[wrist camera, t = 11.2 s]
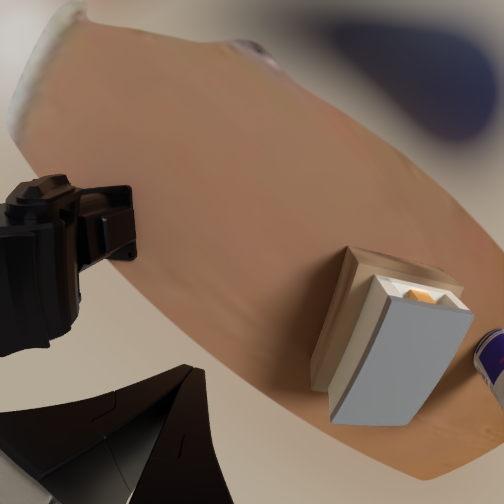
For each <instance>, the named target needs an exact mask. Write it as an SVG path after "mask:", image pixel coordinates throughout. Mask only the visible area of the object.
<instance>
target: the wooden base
mask: <svg viewBox="0 0 504 504" xmlns="http://www.w3.org/2000/svg"><path fill="white" fill-rule="evenodd" d="M374 274H375V275H380V276H384V277H389V278H393V279H398V280H402V281H407V282H411V283H416V284H420V285H425V286H429V287H434V288H438V289H443V290H447V291H450V292H452V293H453V294H454V295H455V296H456V297H457V298H458V299H460V297H461V294H462V292H463V289H464V287H463V286H462V285H460V284H459V283H458V282H457V281H456V280H455V279H453V278H452V277H451V276H450V275H448V274H447V273H446V272H445V271H444V270H442V269H440V268H436V267H432V266H428V265H425V264H421V263H417V262H413V261H409V260H405V259H401V258H397V257H393V256H389V255H385V254H381V253H376V252H372V251H368V250H364V249H360V248H356V247H351V246H348V247H347V250H346V254H345V257H344V261H343V264H342V268H341V271H340V275H339V278H338V281H337V284H336V288H335V291H334V294H333V297H332V300H331V303H330V306H329V309H328V312H327V315H326V318H325V321H324V324H323V327H322V330H321V332H320V335H319V338H318V341H317V343H316V346H315V349H314V352H313V354H312V357H311V359H310V371H311V390H312V391H319V392H326V393H328V387H329V385H330V383H331V381H332V379H333V377H334V374H335V372H336V370H337V368H338V366H339V364H340V361H341V359H342V357H343V355H344V352H345V350H346V348H347V346H348V343H349V341H350V338H351V336H352V334H353V331H354V329H355V326H356V324H357V321H358V319H359V316H360V313H361V311H362V308H363V305H364V303H365V300H366V297H367V294H368V292H369V289H370V286H371V283H372V280H373V277H374Z"/></svg>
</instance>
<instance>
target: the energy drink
mask: <svg viewBox="0 0 504 504" xmlns="http://www.w3.org/2000/svg"><path fill="white" fill-rule="evenodd" d="M473 362H474V366H475V367H476V369H477V370H478V372H479V373H480V375H481V376H482V378H483V379H484V381H485V382H486V384H487V385H488V387H489V388H490V390H491V392H492V393H493V395H494V396H495V398H496V400H497V401H498V403H499V404H500V406H501V408H502V410H503V411H504V329H497V330H494V331H492V332H490V333H489V334H488V335H486V336H485V337H484V338H483V340H482V341H481V342H480V344H479V345H478V347H477V349H476V351H475V354H474V360H473Z"/></svg>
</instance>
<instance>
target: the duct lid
mask: <svg viewBox="0 0 504 504" xmlns="http://www.w3.org/2000/svg"><path fill="white" fill-rule="evenodd" d="M474 316H475V315H474V314H473V313H472V312H471V311H470V310H465V309H460V308H455V307H449V306H444V305H438V304H433V303H428V302H423V301H417V300H412V299H407V298H402V297H397V296H391V295H388V297H387V299H386V302H385V304H384V307H383V309H382V312H381V314H380V317H379V319H378V322H377V324H376V326H375V329H374V331H373V333H372V336H371V338H370V340H369V342H368V345H367V347H366V349H365V351H364V353H363V355H362V357H361V360H360V362H359V364H358V366H357V368H356V370H355V372H354V374H353V376H352V378H351V380H350V381H349V383H348V385H347V387H346V389H345V391H344V393H343V395H342V396H341V398H340V400H339V402H338V404H337V405H336V407H335V409H334V411H333V412H332V414H331V416H330V420H331V423H333V424H347V425H370V426H400V425H407V424H408V423H409V422H410V421H411V419H412V418H413V417H414V415H415V414H416V413H417V412H418V410H419V409H420V407H421V406H422V405H423V403H424V402H425V401H426V399H427V398H428V396H429V395H430V393H431V392H432V391H433V389H434V388H435V386H436V385H437V383H438V381H439V380H440V378H441V377H442V375H443V374H444V372H445V370H446V369H447V367H448V365H449V364H450V362H451V360H452V359H453V357H454V355H455V353H456V351H457V350H458V348H459V346H460V344H461V342H462V340H463V338H464V337H465V335H466V333H467V331H468V329H469V327H470V324H471V322H472V320H473V318H474Z"/></svg>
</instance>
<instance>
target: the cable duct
mask: <svg viewBox="0 0 504 504" xmlns="http://www.w3.org/2000/svg"><path fill="white" fill-rule="evenodd" d="M388 295H391V296H397V297H402V298H407V299H412V300H417V301H423V302H428V303H433V304H438V305H444V306H449V307H455V308H460V309H465V310H469V309H468V308H467V307H466V306H465V305H464V304H463V303H462V302H461V301H460V300H459V299H458V298H457V297H456V296H455V295H454V294H453V293H452V292H450V291H447V290H443V289H438V288H434V287H429V286H425V285H420V284H416V283H411V282H407V281H402V280H398V279H393V278H389V277H384V276H380V275H375V274H374V277H373V280H372V283H371V286H370V289H369V292H368V294H367V297H366V300H365V303H364V305H363V308H362V311H361V313H360V316H359V319H358V321H357V324H356V326H355V329H354V331H353V334H352V336H351V338H350V341H349V343H348V346H347V348H346V350H345V352H344V355H343V357H342V359H341V361H340V364H339V366H338V368H337V370H336V372H335V374H334V377H333V379H332V381H331V383H330V385H329V387H328V396H329V408H330V416H331V414H332V412H333V411H334V409H335V407H336V405H337V404H338V402H339V400H340V398H341V396H342V395H343V393H344V391H345V389H346V387H347V385H348V383H349V381H350V380H351V378H352V376H353V374H354V372H355V370H356V368H357V366H358V364H359V362H360V360H361V357H362V355H363V353H364V351H365V349H366V347H367V345H368V342H369V340H370V338H371V336H372V333H373V331H374V329H375V326H376V324H377V322H378V319H379V317H380V314H381V312H382V309H383V307H384V304H385V302H386V299H387V297H388Z"/></svg>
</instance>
